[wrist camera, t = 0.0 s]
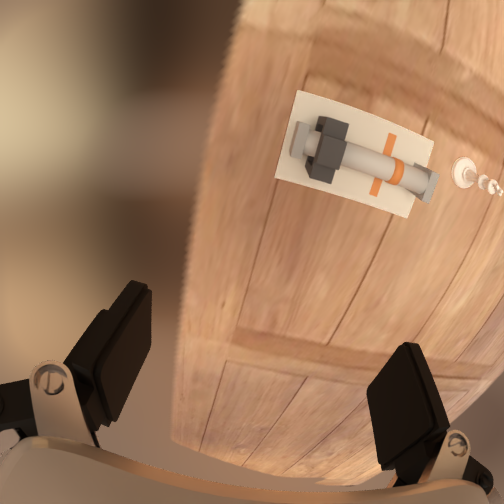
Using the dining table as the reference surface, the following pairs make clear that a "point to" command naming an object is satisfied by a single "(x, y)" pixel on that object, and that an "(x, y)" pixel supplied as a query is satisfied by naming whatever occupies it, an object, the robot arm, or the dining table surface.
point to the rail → (359, 136)
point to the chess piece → (472, 176)
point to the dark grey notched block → (327, 149)
